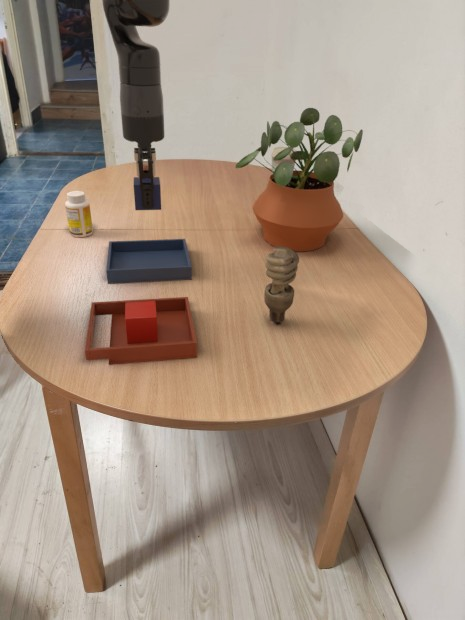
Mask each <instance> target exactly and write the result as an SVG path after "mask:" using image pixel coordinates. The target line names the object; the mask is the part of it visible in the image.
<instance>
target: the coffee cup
mask: <svg viewBox="0 0 465 620" xmlns="http://www.w3.org/2000/svg"><path fill="white" fill-rule="evenodd" d="M286 148H288V146H277V147H273V149H272V151H271V152H270V156H271V170H272V171H273V172H274V171H275V169H276V167H277V166H278V165H279V164H280V163H282V162H290V163H291V164H292V165H293V167H294V168H295V166H296V163H295V162H297V160H295V162H294V161H293V159H291V158H290V155H291V154H292V153H293V152H292V151H291V152H290V153H289V154H290V155H289V154H288V155H287V156H286V157H285V158H283V159H281V160H277V161H274V160H273V159H274V157H275V156H276V155H277V154H278V153H279V152H281V151H282V150H284V149H286ZM293 151H294V152H295V151H297V149H295V148H293ZM272 166H273V167H274V168H275V169H274V168H273V167H272ZM294 168H293V170H295V169H294ZM272 174H274V173H272V172H271V175H272Z"/></svg>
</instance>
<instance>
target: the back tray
mask: <svg viewBox="0 0 465 620" xmlns="http://www.w3.org/2000/svg"><path fill="white" fill-rule="evenodd" d="M105 272H106V281H107V285H108V284H126V283H128V284H129V283H145V282H146V283H147V282H166V281H185V280H188V281H189V280H192V279H193V265H192V262H191V258H190V253H189V249H188V245H187V241H186V238H170V239H169V238H168V239H165V238H163V239H143V240H142V239H141V240H139V239H138V240H109V241H108V250H107V260H106V270H105Z"/></svg>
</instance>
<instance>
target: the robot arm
mask: <svg viewBox="0 0 465 620" xmlns="http://www.w3.org/2000/svg"><path fill="white" fill-rule="evenodd" d="M101 1H102V7H103V12H104V16H105V19H106V22H107V26H108V28H109V32H110V35H111V38H112V42H113V46H114V48H115V51H116V55H117V60H118V72H119V73H118V75H119V103H120V117H121V127H122V137H123V139H125V140H126V141H128V142H130V143H131V142H132V143H134V142H135V143H136V144H137V147H133V157H134V161H135V165H136V166H135V167H136V177H140V185H139V187H140V189H141V195H142V207H143V208H144V209H152V208H153V207H154V199H153V190H154V185H153V177H156V160H157V152H156V147H152V143H158V142H160V141H163V140H164V139H165V113H164V110H165V109H164V96H163V95H164V93H163V88H162V74H161V73H162V71H161V69H162V68H161V55H160V51H159V49H158V47H156V46H155V45H153V44H150V43H148V42H145V41H143V39H141V36H140V34H139V32H138V29H137V27H146V28H154V27H159V26H160V25H162V24H163V23H165V21H166V20H167V18H168V16H169V13H170V7H171V5H170V1H171V0H101ZM144 178H150V179H151V183H143V180H142V179H144Z"/></svg>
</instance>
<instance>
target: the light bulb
mask: <svg viewBox="0 0 465 620" xmlns="http://www.w3.org/2000/svg"><path fill="white" fill-rule="evenodd" d="M265 260H266V263H265V268H266V271H265V275H266V276H267V277H268V278H269V279H271V282H270V283H269V284H266V286H265V287H264V294H263V295H264V299H263V300H264V303H265V305H266V307H267V308H268V310H269V311H268V312H269V314H268V315H269V321H270V322H273V323H274V324H275V325H280V324H281V323H283V322H284V321H285V319H286V316H285V315H286V312H287V310H288V309H290V308H291V307H292V305H293V302H294V297H295V289H294V287H293V286H292V285H291V283H293V282H294V281H295V279H296V277H297V271H298V267H299V266H298V265H299V262H300V256H299V254H298V253H297V251H293V250H292V249H290V248H287V247H282V246H278V247H275V246H274V248H273V252H270V253H268V254H267V255H266V257H265Z"/></svg>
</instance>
